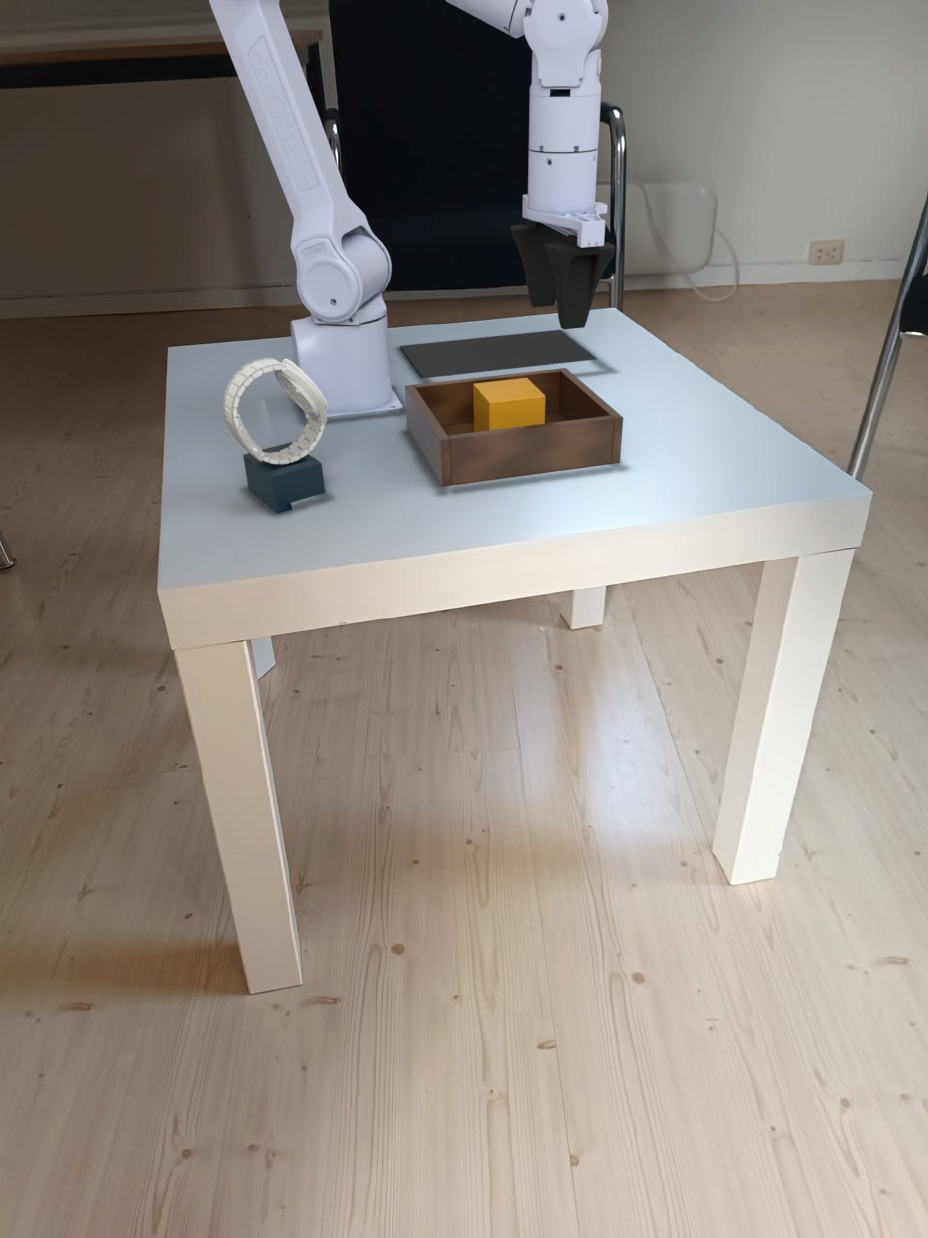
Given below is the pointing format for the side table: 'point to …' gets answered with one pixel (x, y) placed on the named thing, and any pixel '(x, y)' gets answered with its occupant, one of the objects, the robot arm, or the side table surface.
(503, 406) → the cube
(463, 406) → the box
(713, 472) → the side table surface
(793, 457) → the side table surface
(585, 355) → the mat
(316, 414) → the watch
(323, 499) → the side table surface
